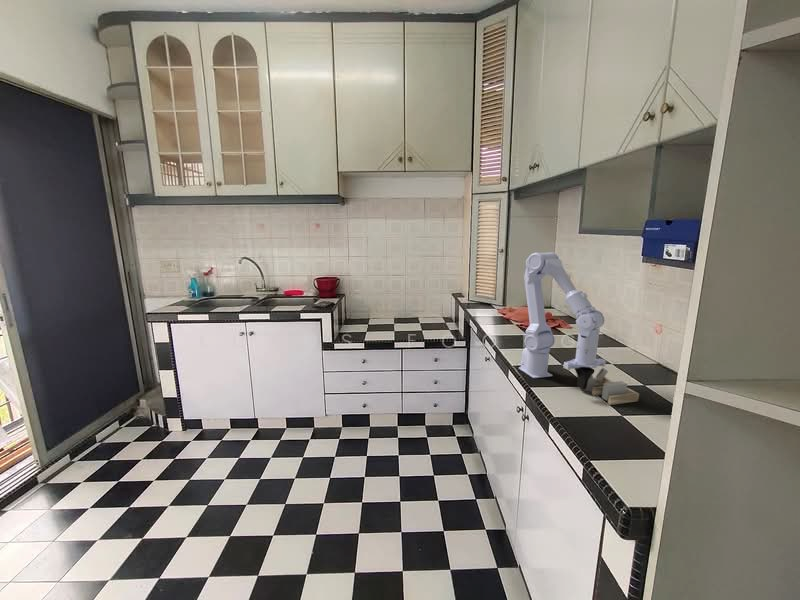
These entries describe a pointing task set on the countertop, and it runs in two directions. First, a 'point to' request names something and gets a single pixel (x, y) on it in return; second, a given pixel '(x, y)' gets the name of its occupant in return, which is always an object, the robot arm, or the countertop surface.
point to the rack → (616, 399)
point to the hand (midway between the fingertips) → (581, 388)
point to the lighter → (592, 380)
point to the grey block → (613, 389)
